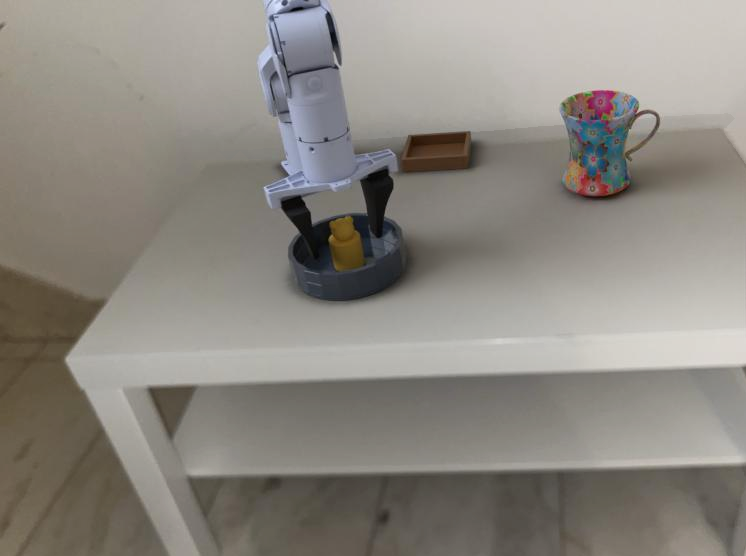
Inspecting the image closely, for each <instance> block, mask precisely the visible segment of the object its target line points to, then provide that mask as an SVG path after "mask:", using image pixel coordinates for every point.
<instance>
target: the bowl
mask: <svg viewBox="0 0 746 556" xmlns="http://www.w3.org/2000/svg"><path fill="white" fill-rule="evenodd" d="M346 216H351V217H352V218H353V223H352V224H353V226H354V230H356V231H357V232H359V234H360V237H361V243H362V248H363V253H364V258H365V264H364V265H363V267H360V268H357V269H352V270H346V271H338V270H336V269H335V267H334V262H333V258H332V253H331V249H330V244H329V237H330V236H331V235H332V232H331V228H330V226H329V224H330V222H331V221H335V220H337V219H339V218H345V217H346ZM312 227H313V233H314V237H315V240H316V244H317V247H318V250H319V256H320V258H317V259H313V258H312V256H311V255H310V253H309V251H308V249H307V246H306V244H305V242H304V239H303V238H302V236H301V234H300V232H299V231H298V233H297V234H296V235H295V236H294V237H293V238H292V240H291V242H290V243H289V244H288V247H287V258H288V263H289V265H290V266H289V267H290V270H291V274H292V277H293V279H294V282H295V284H296V286H297V287H298V289H299V290H300V291H302V292H303V293H304V294H306V295H308V296H309V297H312V298H314V299H319V300H324V301H333V302H334V301H348V300H350V301H351V300H357V299H360V298H365V297H368V296H371V295H373V294H376V293H379V292H381V291H383V290H385V289H386V288H388V287H390V286H391V285H392V284H394V283H395V282H396V281H397V280H398V279H400V277H401V276H402V274H403V273H404V271H405V270H406V266H407V251H406V246H405V245H406V244H405V240H404V234H403V229H402V227H401V226H400V225H399V224H398V223H397V222H396V221H395V220H394V219H391V218H390V217H387V216H385V215H384V221H383V231H382V237H380V238H376V237H375V236H374V234H373V233H372V232H371V230H370V227H369V223H368V215H367V212H349V213H344V214H343V213H342V214H337V215H332V216H330V217H327V218H324V219H320V220H317V221H315V222H314V223H312Z"/></svg>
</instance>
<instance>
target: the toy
mask: <svg viewBox="0 0 746 556" xmlns="http://www.w3.org/2000/svg"><path fill="white" fill-rule="evenodd" d="M352 223H353V218H352V217H351V216H346V217H345V218H339V219H337V220H335V221H331V222H330V224H329V226H330V228H331V232H332V235H331V236H330V237H329V244H330V249H331V253H332V258H333V262H334V267H335V269H336V270H338V271H346V270H352V269H357V268H360V267H363V265H364V264H365V258H364V253H363V248H362V243H361V237H360V234H359V232H357V231H356V230H354V226H353V224H352Z"/></svg>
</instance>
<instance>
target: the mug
mask: <svg viewBox="0 0 746 556" xmlns="http://www.w3.org/2000/svg"><path fill="white" fill-rule="evenodd" d="M639 109H640V102H639V100H638V99H637V98H636V97H634V95H631V94H629V93H627V92H623V91H617V90H611V89H609V90H608V89H599V90H587V91H582V92H578V93H576V94H573V95H570V96H568V97H567V98H565V99H564V100H562V102H561V103H560V104H559V107H558V110H559V113H560V116H561V117H562V120H563V122H564V125H565V128H566V131H567V136H568V140H569V159H568V164H567V167H566V170H565V172H564V174H563V176H562V183H563V185H564V186H565V188H566V189H567V190H568V191H571V192H573V193H575V194H578V195H582V196H587V197H603V196H610V195H613V194H617V193H619V192H621V191H623V190H625V189H626V188H627V187H628V186H629V185H630V183H631V182H632V175H631V172H630V170H629V167H628V163H627V161H629V162H632V161H633V158H632V157H631V155H633V154H634V153H635V152H637V151H639V150H641V149H642V148H643V147H645V146H646V145H647V144H648V143H649V142H650V141H651V140H652V139H653V138H654V136H655V135H656V133H657V132H658V130H659V127H660V125H661V117H660V114H659V113H658V112H657V111H655V110H653V109H642V110H640V111H639ZM643 115H653V116H654V117H655V119H656V121H655V125H654V127H653V128H652V130H651V131H650V133H649V134H648V135H647V136H646V138H644V139H643V140H642V141H641V142H640V143H638V144H637V145H634V147H632V148H630V149H629V150H627V151H626V148H627V141H628V135H629V131H630V130H632V128H633V125H634V123H635V121H637V120H638V119H639V118H640V117H642V116H643Z"/></svg>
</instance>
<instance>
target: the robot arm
mask: <svg viewBox="0 0 746 556" xmlns="http://www.w3.org/2000/svg"><path fill="white" fill-rule="evenodd" d="M262 3H263V7H264V12H265V14H266V15H265V16H266V19H267V21H265V31H266V34H267V35H266V36H267V40H268V45H267V46H266V47H265V48H264V50H262V52H260V54H259V55H258V58H257V62H256V63H257V67H258V72H259V74H258V76H259V80H260V83H261V87H262V91H263V96H264V100H265V103H266V107H267V111H268V114H269V115H271V116H272V117H273V118H277V117H278V128H279V132H280V136H281V141H282V144H283V149H284V153H285V158H286V160H282V161H281V162H280V165H281V167H282V168H283V170H284V171H285V172H286V173H287V175H288V176H286V177H284V178H282V179H280V180H278V181H276V182H273V183H271V184H268V185H266V186H263V190H264V191H263V192H264V194H265V198H266V202H267V204H268V205H269V207H270V208H271V210H277V209H281V210H282V212H283V213H284V214H285V216H286V217H287V219H288V220H289V221H290V222H291V223H292V224H293V225H294V227H295V228H296V229H297V231H298V233H299V232H300V234H301V236H302V238H303V239H304V242H305V244H306V246H307V249H308V251H309V253H310V255H311V256H312V258H313V259H317V258H320V256H319V250H318V247H317V244H316V240H315V237H314V233H313V227H312V224H313V221H312V212H311V210H310V209H309V208H308V206H307V204H306V201H305V200H304V199H303V198H306V197H310V196H312V195H315V194H319V193H322V192H327V191H333V193H334V192H335V193H340V192H343V191H346V190H348V189H349V190H350V189H351V188H352V187H353V183H355V182H357V181H359V184H360V186H361V189H362V193H363V198H364V202H365V207H366V213H367V215H368V223H369V227H370V230H371V232H372V233H373V234H374V236H375V237H376V238H380V237H382V231H383V221H384V216H385V214H386V211H387V210H386V209H387V206H388V203H389V200H390V198H391V195H392V193H393V190H394V188H395V187H394V186H395V184H394V178H392V177H391V175H390V174H393V173H396V172H399V168H398V161H397V160H398V159H397V155H396V154H395V153H394V152H393V151H392V150H391V149H390V148H387V149H384V150H380V151H374V152H368V153H361V154H356V153H355V148H354V143H353V142H354V141H353V137H352V132H351V127H350V121H349V115H348V110H347V104H346V103H347V102H346V98H345V92H344V88H343V81H342V77H341V71H340V67H342V65H343V50H342V42H341V37H340V32H339V28H338V25H337V24H338V23H337V21H336V17H335V15H334V12H333V10H332V8H331V5H330V4H329V2H328V0H262ZM334 54H335V55H334ZM335 58H336V61H337V64H338V65H339V66H338V65H337V64H336V62H335Z"/></svg>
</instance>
